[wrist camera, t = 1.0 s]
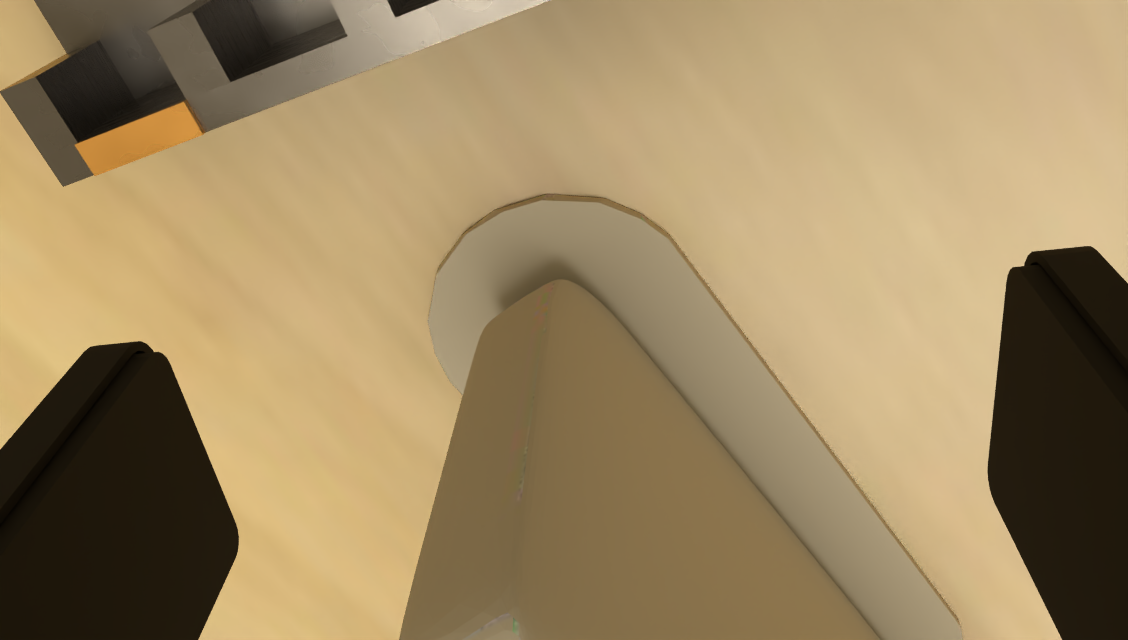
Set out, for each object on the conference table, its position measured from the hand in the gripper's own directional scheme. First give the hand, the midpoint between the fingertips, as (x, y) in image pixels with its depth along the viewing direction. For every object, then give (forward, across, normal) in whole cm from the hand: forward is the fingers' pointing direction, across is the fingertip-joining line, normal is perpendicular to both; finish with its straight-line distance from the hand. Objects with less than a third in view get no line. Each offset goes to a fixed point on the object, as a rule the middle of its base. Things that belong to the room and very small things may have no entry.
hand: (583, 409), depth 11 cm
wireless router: (+22, -2, +21) cm, 31 cm away
